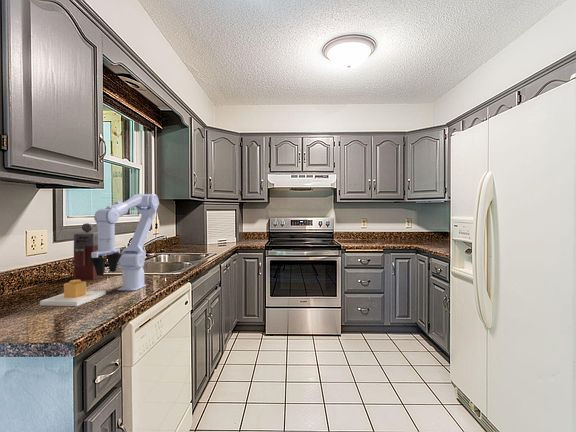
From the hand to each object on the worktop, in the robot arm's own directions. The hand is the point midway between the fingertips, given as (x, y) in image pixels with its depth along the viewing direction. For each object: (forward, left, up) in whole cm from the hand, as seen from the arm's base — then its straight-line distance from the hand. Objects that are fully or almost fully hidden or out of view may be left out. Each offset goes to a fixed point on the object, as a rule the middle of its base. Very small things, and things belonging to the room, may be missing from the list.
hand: (106, 273), depth 123 cm
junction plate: (+4, -10, -9) cm, 14 cm away
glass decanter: (-32, -32, -10) cm, 46 cm away
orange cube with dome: (+4, -10, -8) cm, 13 cm away
